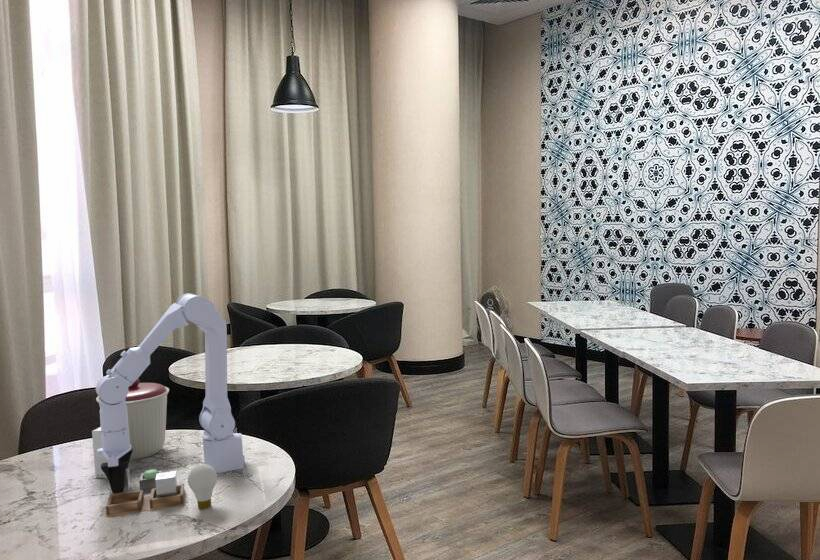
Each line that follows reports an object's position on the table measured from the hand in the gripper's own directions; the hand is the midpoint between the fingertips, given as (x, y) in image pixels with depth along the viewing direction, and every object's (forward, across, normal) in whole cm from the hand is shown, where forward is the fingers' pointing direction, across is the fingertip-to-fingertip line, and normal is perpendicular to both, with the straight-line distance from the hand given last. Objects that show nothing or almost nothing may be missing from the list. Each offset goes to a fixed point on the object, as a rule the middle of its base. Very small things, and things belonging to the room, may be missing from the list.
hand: (120, 487), depth 154 cm
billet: (+1, 0, 0) cm, 1 cm away
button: (+1, 0, +7) cm, 7 cm away
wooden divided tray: (+2, +10, +6) cm, 12 cm away
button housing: (+2, 0, +7) cm, 7 cm away
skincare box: (+2, -15, -4) cm, 16 cm away
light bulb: (+2, +17, +18) cm, 25 cm away
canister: (+2, -29, +1) cm, 29 cm away
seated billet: (+1, +10, +11) cm, 15 cm away
